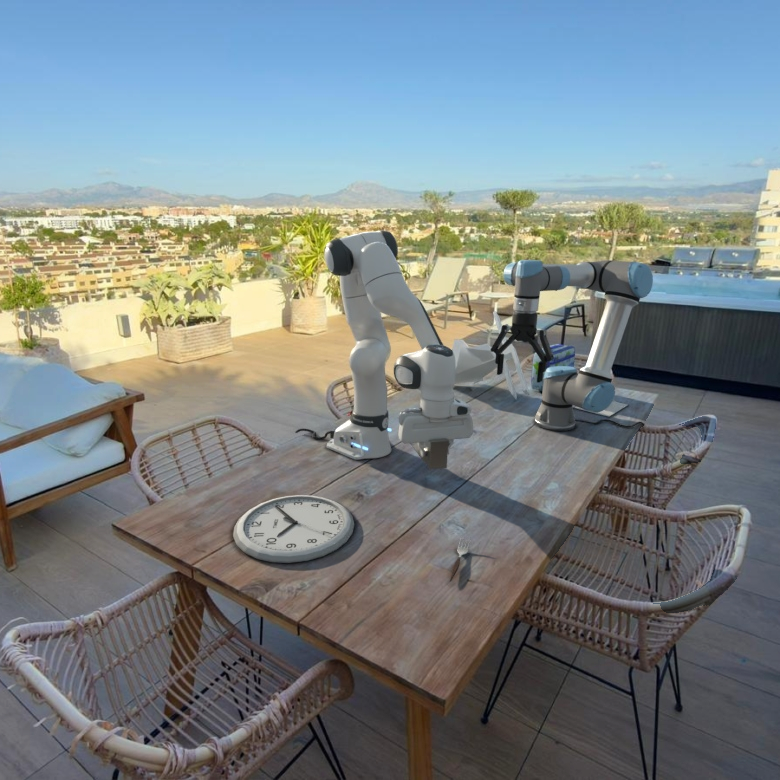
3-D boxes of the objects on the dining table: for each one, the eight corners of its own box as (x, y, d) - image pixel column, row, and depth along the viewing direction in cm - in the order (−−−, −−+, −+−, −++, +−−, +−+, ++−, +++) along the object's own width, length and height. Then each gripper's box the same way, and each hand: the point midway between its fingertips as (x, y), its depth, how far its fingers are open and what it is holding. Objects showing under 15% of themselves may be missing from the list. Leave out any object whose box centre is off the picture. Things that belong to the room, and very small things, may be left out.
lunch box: (547, 396, 238) (552, 351, 232) (526, 391, 246) (531, 347, 239) (574, 385, 256) (579, 343, 250) (554, 380, 263) (559, 340, 257)
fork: (443, 582, 112) (444, 574, 112) (460, 542, 127) (460, 535, 126) (455, 584, 112) (456, 576, 111) (471, 544, 126) (471, 537, 125)
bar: (405, 437, 160) (406, 412, 158) (420, 436, 162) (421, 411, 159) (429, 470, 139) (431, 441, 137) (446, 468, 140) (448, 440, 138)
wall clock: (355, 554, 119) (220, 559, 116) (355, 560, 119) (221, 565, 117) (353, 490, 147) (244, 493, 145) (353, 495, 148) (245, 498, 145)
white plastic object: (461, 429, 252) (437, 405, 227) (444, 352, 274) (420, 323, 250) (535, 404, 240) (518, 377, 215) (510, 326, 262) (492, 293, 237)
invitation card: (608, 416, 214) (573, 407, 224) (608, 416, 214) (573, 408, 224) (628, 404, 229) (594, 396, 238) (628, 405, 229) (594, 397, 238)
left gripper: (402, 413, 132) (401, 463, 137) (477, 407, 138) (473, 455, 142) (395, 405, 138) (394, 453, 142) (467, 400, 143) (464, 446, 148)
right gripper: (483, 308, 166) (478, 373, 172) (560, 317, 151) (552, 387, 158) (493, 306, 171) (489, 368, 178) (569, 314, 157) (561, 382, 163)
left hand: (434, 454), depth 142 cm, fingers closed on bar, 5 cm apart
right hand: (519, 377), depth 168 cm, fingers open, 13 cm apart
